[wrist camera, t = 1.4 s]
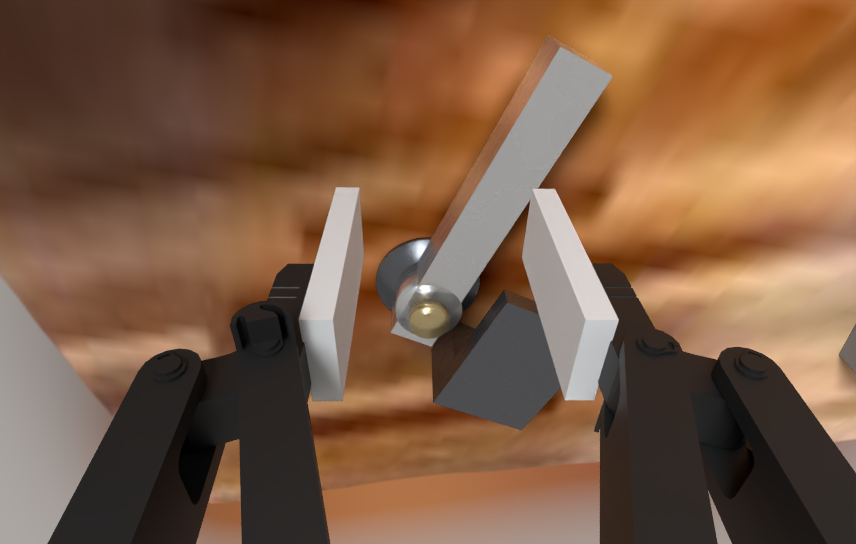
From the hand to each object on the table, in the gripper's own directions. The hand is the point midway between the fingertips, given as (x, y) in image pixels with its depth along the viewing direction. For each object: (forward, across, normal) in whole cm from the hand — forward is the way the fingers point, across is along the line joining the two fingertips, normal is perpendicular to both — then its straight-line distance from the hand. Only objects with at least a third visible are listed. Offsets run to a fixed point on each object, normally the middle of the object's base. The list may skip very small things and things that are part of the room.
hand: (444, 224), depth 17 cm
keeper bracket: (+17, +3, -17) cm, 24 cm away
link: (+16, +3, -8) cm, 18 cm away
